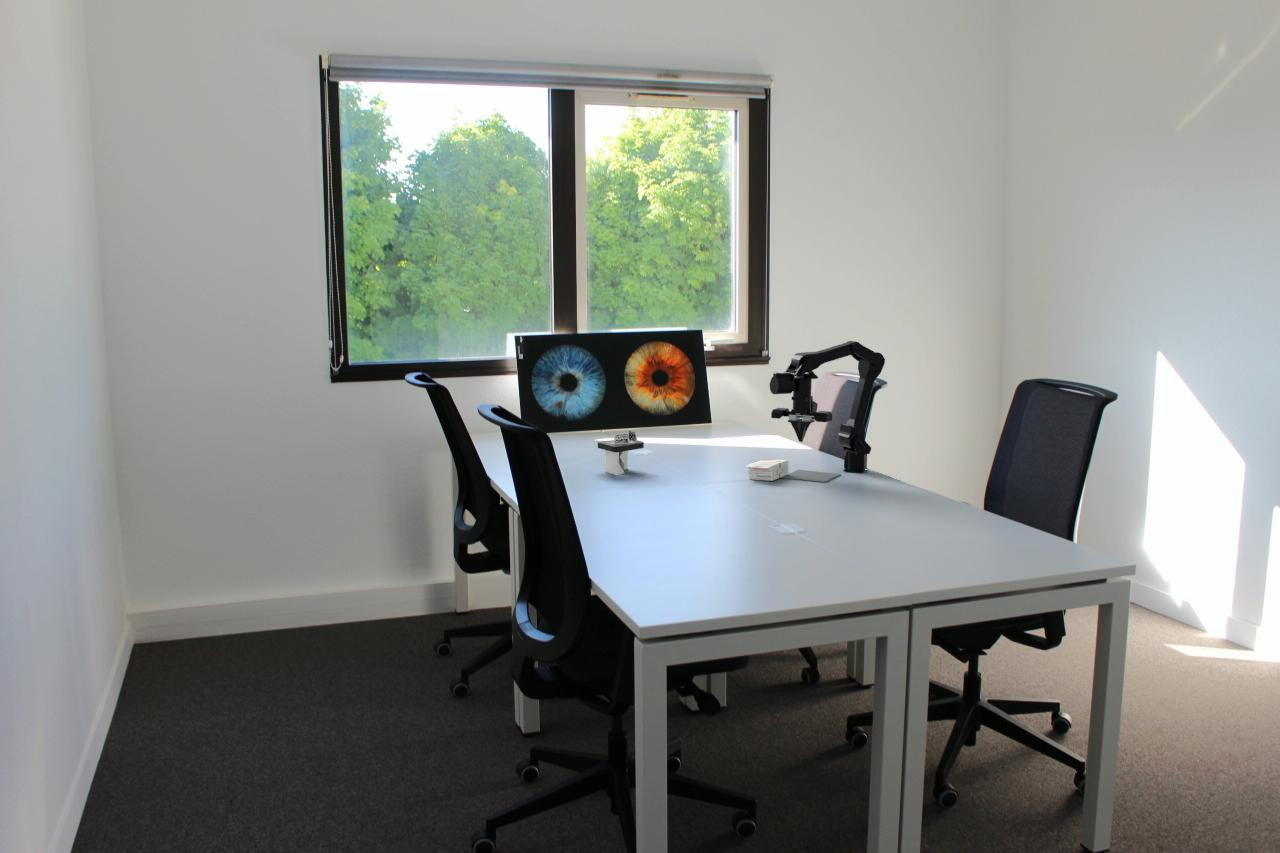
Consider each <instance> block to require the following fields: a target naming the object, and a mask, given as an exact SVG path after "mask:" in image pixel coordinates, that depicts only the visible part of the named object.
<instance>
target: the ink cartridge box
mask: <svg viewBox="0 0 1280 853" xmlns="http://www.w3.org/2000/svg"><path fill="white" fill-rule="evenodd" d="M745 468H748V478H749V480H755V481H757V480H758V481H768V482H771V481H776V480H777V479H780V478H782V477H783V476H786V475H788V474H789V473H790V472H789V460H788V459H771V458H770V459H767V458H766V459H765V458H763V459H761V460H759V461H755V462H752V463H749V464H747V465H745Z"/></svg>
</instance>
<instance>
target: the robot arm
mask: <svg viewBox="0 0 1280 853" xmlns="http://www.w3.org/2000/svg"><path fill="white" fill-rule="evenodd" d="M848 356H851V357H852V358H853V359H854V360H856V361H857V362H858V364H857V369H858V371H857V372H858V374H859V380H858V383H857V387H856V392H855V395H854V399H853V402H852V407H851V409H850V415H849V419H848V420H847V421H846V423H840V426H839V433H838V434H837V436H838V441H839V443H840V445H841V446H842V449H843V451H845V455H844V456H843V472H845V473H846V472H847V473H858V474H863V473H865V472H867V471H868V470H869V468H868V466H867V465H868V455H870V453H871V450H872V447H871V445H869V443H868V442H867V441H866V429H865V419H866V417H867V416H866V415H867V411H868V408H869V403H870V400H871V397H872V396H871V395H872V392H873V388H874V383H875V381H876V379H878V377H879V375H880V374H881V373H882V371H883V368H884V367H885V364H886V363H885V362H886V358H885V356H884V355H883V354H882V353H881V352H876V351H873V350H871V349H870V348H868V347H867V346H864V345H863V344H861V343H860V342H858V341H854V340H848V341H846V342H843V343H841V344H840V343H839V344H837V345H834V346H831V347H827V348H824V349H821V350H818V351H817V350H816V351H803V352H797V353H795V354H793V355H792V358H791V361H790V362H789V364H788V366H787V367H786V368H785V370H784V371H783V372H773V373H772V375H773V376H772V377H771V378H770V381H769V390H770V393H771V394H772V395H787V394H789V395H790V394H792V396H791V401H792V409H791V410H790V409H789V408H788V407H777V408H773V409H772V411H771V412H770V414H771V415H770V416H771V417H770V418H771V419H777V420H780V419H781V418H782V417H788V419H787V422H788V423H790V425H791V427H792V428H793V430H794V433H795V435H796V437H797V439H798V442H799V443H802V442H803V441H804V439H805V436H806V433H807V430H808V429H809V427H810V425H811V424H812V423H815V422H818V423H828V422H832V421H833V414H832V412H831V411H828V410H826V411H825V410H818V405H819V403H817V402H816V401H814V398H813V395H812V382H813V381H812V380H817V379H818V378H819V376H818V375H817V374H816V373H815V372H814V370H817V369H818V368H819V367H820V366H822V365H824V364H826V363H829V362H832V361H836V360H839V359H842V358H846V357H848ZM865 469H868V470H865Z"/></svg>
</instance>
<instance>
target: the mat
mask: <svg viewBox="0 0 1280 853" xmlns="http://www.w3.org/2000/svg"><path fill="white" fill-rule="evenodd" d="M840 476H841V473H834V472H827V471H826V472H825V471H818V470H817V471H816V470H815V471H814V470H806V469H797V470H794V471H792V472H789V474H788V475H786V476H783V477H781V479H786V480H787V479H788V480H796V481H797V480H798V481H804V482H815V483H822V484H823V483H824V484H826V483H828V482H829V481H832V480H834V479H835V478H838V477H840Z"/></svg>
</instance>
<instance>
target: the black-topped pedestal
mask: <svg viewBox="0 0 1280 853" xmlns="http://www.w3.org/2000/svg"><path fill="white" fill-rule="evenodd" d="M616 438H617V439H616ZM644 445H645V442H644V441H641V440H638V433H637V432H633V431H632V430H631V431H630V430H627V433H624V434H622V435H620V434H617V435H616V434H613V440H603V441H602V440H601V441H597V448H598V449H600V450H604V472H605V473H607V474H611V475H614V476H620V475H623V474H625V470H628V466H629V465H628V463H629V462H628V458H629V457H628V453H629V451H633V450H635V451H636V450H639V449H644V448H645V446H644Z"/></svg>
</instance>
